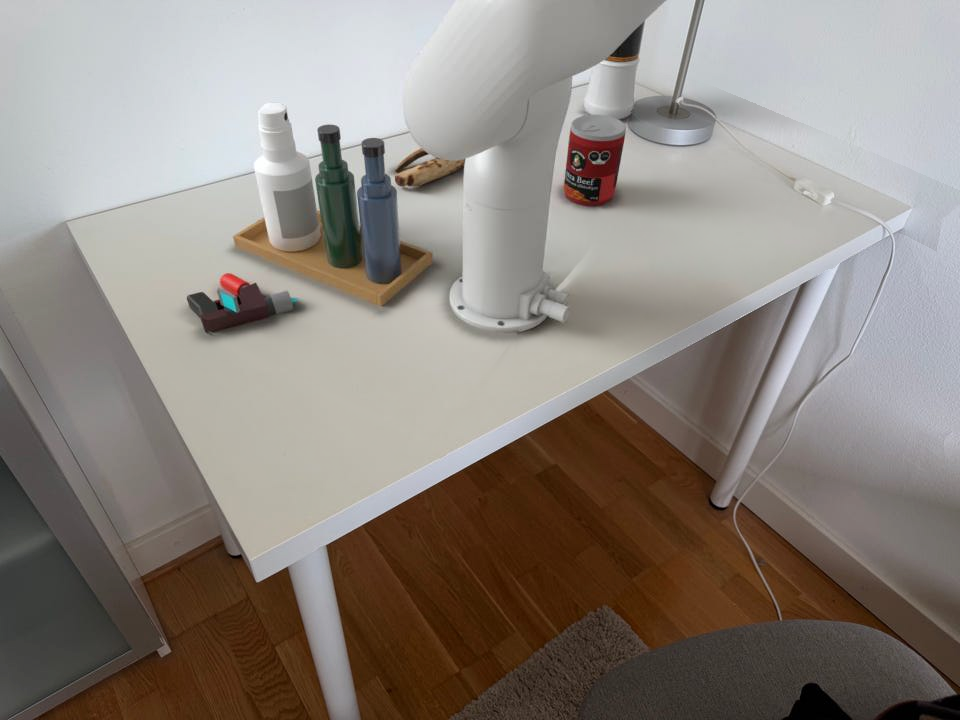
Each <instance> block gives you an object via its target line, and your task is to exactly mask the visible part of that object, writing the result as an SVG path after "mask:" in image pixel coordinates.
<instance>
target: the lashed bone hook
mask: <svg viewBox="0 0 960 720" xmlns="http://www.w3.org/2000/svg"><path fill="white" fill-rule="evenodd" d="M428 155H429V154H428V153H427V152H425V151H424V150H423V149H422V148H421V147H420V148H419V149H416V150H415V151H413V152H412V153H410V154H409V155H408V156H406V157H405V158H404V159H403V160H401V162H400V163H399V164H398V165H397V166H396V168H395V169H394V172H395V173H397V174H395V175H394V181H395V184H396V185H397V186H398V187H406V186H408V187H419V186H421V185H424V184H428V183H429V182H432V181H434V180H437V179H440V178H443V177H444V176H448V175H449V174H452V173H454V172H456V171H458V170H460V169H461V168H464V165H465V159H462V160H455V161H449V160H443V159H439V158H436V157H434V158H432V159H429V160H427V161H424V162H422V163H420V164H418V165H416V166H414V167H412V168H407V167H408V166H409V165H411V164H412V163H414V162H415V161H417V160H419V159H421V158H423V157H426V156H428ZM405 168H407V169H405ZM404 169H405V170H404ZM402 170H403V171H402ZM398 172H399V173H398Z"/></svg>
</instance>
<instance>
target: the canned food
mask: <svg viewBox="0 0 960 720" xmlns="http://www.w3.org/2000/svg"><path fill="white" fill-rule="evenodd" d="M569 129H570V130H569V136H568V145H567V155H566V163H565V170H564V171H565V172H564V181H563V192H564V196H565V197H566V198H567V199H568V200H569V201H571V202H572V203H574V204H577V205H581V206H586V207H596V206H602V205H605V204H607V203H610V201H612V199H613V198H614V196H615V194H616V189H617V183H618V178H619V174H620V173H619V172H620V167H621V160H622V155H623V150H624V144H625V140H626V132H627V126H626V123H624V122H623V121H622V120H621V119H620V120H618V119H616V118H613V117H610V116H605V115H590V114H587V115H582V116H579V117H576V118H575V119H573V120H572V121H571V123H570V128H569Z"/></svg>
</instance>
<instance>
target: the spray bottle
mask: <svg viewBox="0 0 960 720" xmlns="http://www.w3.org/2000/svg"><path fill="white" fill-rule="evenodd" d="M256 113H257V117H258V132H259V138H260V147H261V151H262V155H260V156H259V157H257V159H256V160H255V162H254V163H253V169H254V170H253V171H254V175H255V180H256V184H257V189H258V194H259V199H260V203H261V208H262V211H263V218H265V222H266V227H267V232H268V237H269V241H270V243H271V244H272V245H273V247H275V248H277V249H278V250H282V251H289V252H295V251H302V250H305V249H308V248H310V247H312V246H314V245H315V244H316V243H317V242H318V241H319V239H320V236H321V234H320V228H319V221H318V215H317V211H318V209H317V203H316V195H315V189H314V184H313V177H312V176H313V175H312V170H311V164H310V159H309V157H307V156H306V154H304V153H302V152H300V151H297V147H296V146H297V145H296V141H295V139H294V134H293V133H294V131H293V128H292V123H291V122H290V119H289V114H288V109H287V105H285V104H284V103H280V102H266V103H265V104H263V105H262V106H261V107H260V109H258V110H257V111H256Z"/></svg>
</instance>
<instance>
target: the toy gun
mask: <svg viewBox="0 0 960 720" xmlns="http://www.w3.org/2000/svg"><path fill="white" fill-rule="evenodd" d="M219 284H220V287H221V288H220V287H218V288H217V289H216V292H217V295H218V299H216V300H212V299H211V298H210V297H209V296H208V295H207V294H206V293H205V292H203V291H199V292H195V293H191V294H187V296H186V301H187V304H188V307H189V309H190V310H191V311H192V312H193V313H194V314H195V315H196V316H197V317H198V318H199V319H200V322H201V325H202V326H203V330H204V333H206V334H209V335H212V334H213V333H217V332H220V331H225V330H227V329H232V328H234V327H238V326H242V325H246V324H249V323H254V322H257V321H261V320H264V319H269V318H270V316H272V315H275V316H276V315H281V314H284V313H288V312H291V311H294V304H293V303H295V302H296V301H297V300H299V299H300V298H299V297H291V295H290V292H289V291H288V290H284V291H281V292H277V293H272V294H269V296H267V297H264V296H263V294H262V292H261V290H260V288H259V285H258V284H257V282H254V283H250V282H248V281H246V280H244V279H243V278H240V277H239V276H237V275H236V274H233V273H231V272H228V273H224V274H223V275H222V276H221V277H220V279H219Z"/></svg>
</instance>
